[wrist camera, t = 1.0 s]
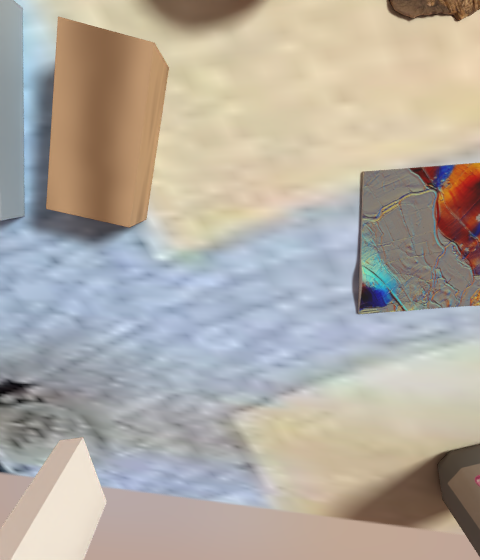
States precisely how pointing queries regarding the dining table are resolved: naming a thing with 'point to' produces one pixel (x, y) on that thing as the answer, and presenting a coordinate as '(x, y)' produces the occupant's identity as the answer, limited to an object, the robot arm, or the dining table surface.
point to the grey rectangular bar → (11, 111)
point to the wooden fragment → (436, 7)
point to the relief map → (420, 238)
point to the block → (104, 123)
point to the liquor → (463, 489)
